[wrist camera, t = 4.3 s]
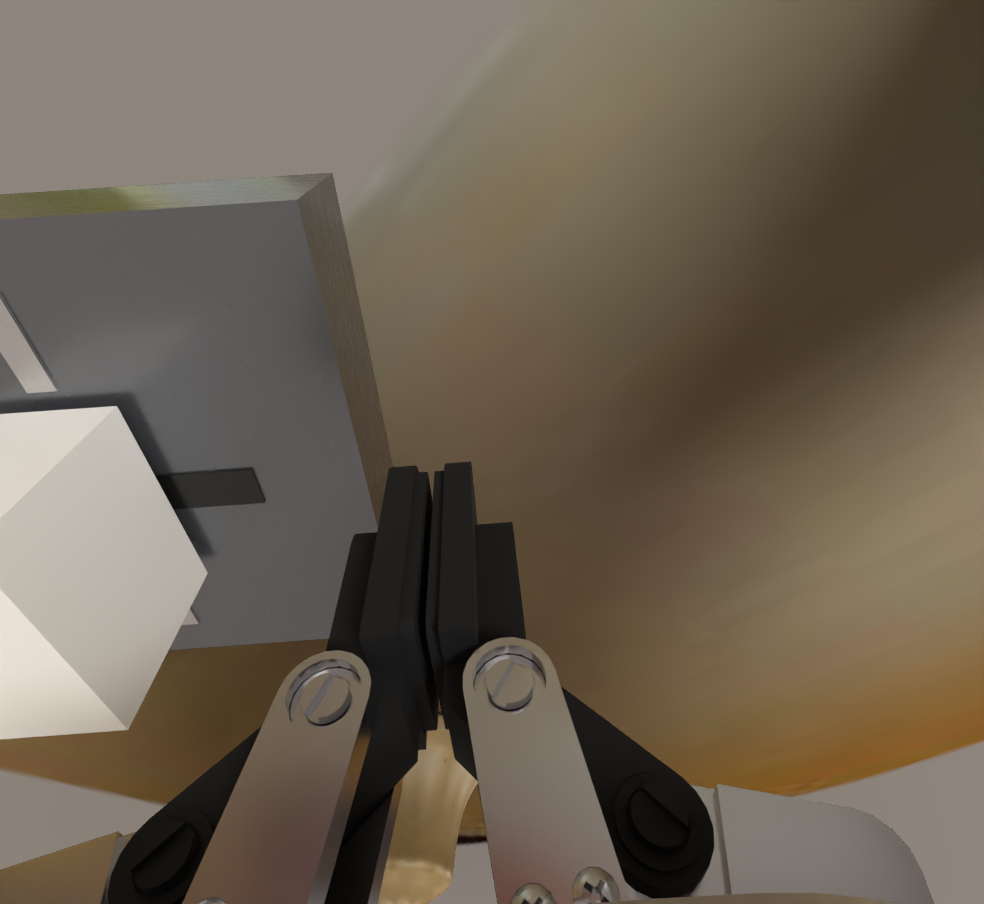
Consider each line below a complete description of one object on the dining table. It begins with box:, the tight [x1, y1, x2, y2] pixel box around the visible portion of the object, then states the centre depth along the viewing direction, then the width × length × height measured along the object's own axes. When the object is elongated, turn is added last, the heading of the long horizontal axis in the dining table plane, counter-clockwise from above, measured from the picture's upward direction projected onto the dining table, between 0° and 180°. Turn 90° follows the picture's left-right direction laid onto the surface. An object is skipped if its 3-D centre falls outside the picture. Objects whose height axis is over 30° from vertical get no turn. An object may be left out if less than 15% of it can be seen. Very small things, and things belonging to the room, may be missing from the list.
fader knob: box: [0, 406, 208, 739], centre depth 10 cm, size 3×5×4 cm, turn 3°
